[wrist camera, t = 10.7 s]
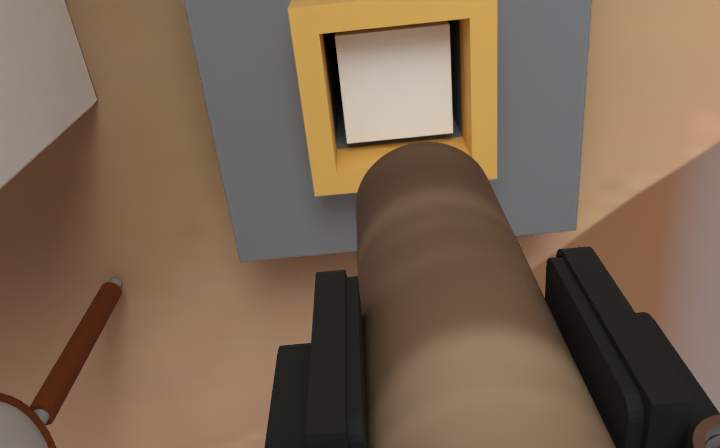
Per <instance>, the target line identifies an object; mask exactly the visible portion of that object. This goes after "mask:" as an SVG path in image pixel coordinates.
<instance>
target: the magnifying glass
mask: <svg viewBox="0 0 720 448" xmlns="http://www.w3.org/2000/svg"><path fill="white" fill-rule="evenodd" d="M121 286H122V283H121V281H120V280H119V279H116V278H112V279H110V281H109V282H106V283H104V284H103V285H102V286H101V288H100V290H99V291H98V293H97V295H96V296H95V298H94V300H93V301H92V303H91V305H90V306H89V308H88V310H87V311H86V313H85V315H84V316H83V318H82V320H81V321H80V323H79V325H78V327H77V328H76V330H75V332H74V333H73V335H72V337H71V338H70V340H69V342H68V343H67V345H66V347H65V348H64V350H63V352H62V353H61V355H60V357H59V358H58V360H57V362H56V363H55V365H54V367H53V369H52V370H51V372H50V374H49V375H48V377H47V379H46V380H45V382H44V384H43V385H42V387H41V389H40V390H39V392H38V394H37V395H36V397H35V399H34V400H33V402H32V404H31V405H30V407H29V406H27V405H26V404H24V403H23V402H22V401H20V400H18V399H16V398H14V397H12V396H9V395H5V394H2V393H0V448H56V446H55V443H54V441H53V439H52V437H51V435H50V433H49V431H48V429H47V428H46V426H45V425H48V424H51V423H52V422H53V421H54V419H55V417H56V415H57V413H58V412H59V410H60V408H61V406H62V404H63V402H64V400H65V399H66V397H67V395H68V393H69V391H70V389H71V387H72V386H73V384H74V382H75V380H76V378H77V376H78V374H79V372H80V371H81V369H82V367H83V365H84V363H85V361H86V359H87V358H88V356H89V354H90V352H91V350H92V348H93V346H94V345H95V343H96V341H97V339H98V337H99V335H100V333H101V331H102V330H103V328H104V326H105V324H106V322H107V320H108V318H109V317H110V315H111V313H112V311H113V309H114V307H115V305H116V303H117V302H118V300H119V298H120V296H121V294H122V290H121Z"/></svg>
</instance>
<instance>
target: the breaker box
mask: <svg viewBox="0 0 720 448" xmlns="http://www.w3.org/2000/svg"><path fill="white" fill-rule="evenodd" d="M591 3H592V0H184V4H185V9H186V13H187V18H188V23H189V27H190V32H191V37H192V41H193V46H194V50H195V55H196V60H197V64H198V69H199V73H200V78H201V83H202V87H203V92H204V97H205V101H206V106H207V110H208V115H209V120H210V124H211V129H212V134H213V138H214V143H215V147H216V152H217V157H218V161H219V166H220V171H221V175H222V180H223V184H224V189H225V194H226V198H227V203H228V208H229V212H230V217H231V221H232V226H233V231H234V235H235V240H236V245H237V249H238V254H239V258H240V262H249V261H259V260H270V259H280V258H291V257H301V256H312V255H322V254H333V253H343V252H354V251H357V231H356V205H355V204H356V196H357V192H358V188H359V186H360V183H361V181H362V179H363V177H364V176H365V174H366V173H367V171H368V170H369V169H370V167H371V166H372V165H373V164H374V163H375V162H376V161H377V160H379V159H380V158H381V157H382V156H384V155H385V154H387V153H389V152H390V151H392V150H394V149H396V148H399V147H401V146H404V145H408V144H411V143H418V142H438V143H443V144H448V145H450V146H453V147H456V148H458V149H460V150H462V151H464V152H465V153H467V154H468V155H470V156H471V157H472V158H473V159H474V160H475V161H476V162H477V163H478V164H479V165H480V167H481V168H482V169H483V171H484V173H485V174H486V176H487V178H488V180H489V182H490V185H491V187H492V189H493V191H494V193H495V195H496V197H497V199H498V201H499V203H500V206H501V208H502V210H503V212H504V214H505V216H506V218H507V220H508V222H509V224H510V227H511V229H512V231H513V233H514V235H515V236H522V235H533V234H544V233H554V232H565V231H575V230H576V226H577V211H578V196H579V181H580V167H581V152H582V137H583V122H584V107H585V92H586V77H587V63H588V48H589V33H590V18H591ZM439 21H448V23H449V24H450V52H451V83H452V115H453V133H449V134H439V135H429V136H419V137H409V138H399V139H389V140H379V141H369V142H359V143H349V144H347V139H346V130H345V121H344V112H343V106H340V107H338V101H337V93H336V84H335V76H334V67H333V59H332V50H331V42H330V33H333V32H343V31H352V30H362V29H372V28H381V27H391V26H400V25H410V24H419V23H429V22H439Z"/></svg>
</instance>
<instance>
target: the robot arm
mask: <svg viewBox="0 0 720 448" xmlns="http://www.w3.org/2000/svg"><path fill="white" fill-rule="evenodd" d="M545 300H546V302H547V304H548V306H549V308H550V310H551V313H552V315H553V317H554V319H555V321H556V323H557V325H558V327H559V329H560V331H561V334H562V336H563V338H564V340H565V342H566V344H567V346H568V348H569V350H570V352H571V355H572V357H573V359H574V361H575V363H576V365H577V367H578V369H579V371H580V373H581V376H582V378H583V380H584V382H585V384H586V386H587V388H588V390H589V392H590V394H591V397H592V399H593V401H594V403H595V405H596V407H597V409H598V411H599V413H600V415H601V418H602V420H603V422H604V424H605V426H606V428H607V430H608V432H609V434H610V436H611V439H612V441H613V443H614V445H615V447H616V448H720V413H719V412H718V410H717V409H716V407H715V406H714V405H713V403H712V402H711V400H710V399H709V397H708V396H707V394H706V393H705V392H704V390H703V389H702V387H701V386H700V384H699V383H698V382H697V380H696V379H695V377H694V376H693V374H692V373H691V372H690V370H689V369H688V367H687V366H686V364H685V363H684V362H683V360H682V359H681V357H680V356H679V354H678V353H677V352H676V350H675V349H674V347H673V346H672V344H671V343H670V342H669V340H668V339H667V337H666V336H665V334H664V333H663V331H662V330H661V329H660V327H659V326H658V324H657V323H656V321H655V320H654V319H653V318H652V317H651V316H650V314H648V313H645V312H642V313H635V312H634V310H633V309H632V307H631V306H630V304H629V303H628V301H627V300H626V298H625V297H624V295H623V294H622V292H621V291H620V289H619V288H618V286H617V285H616V283H615V282H614V280H613V279H612V277H611V276H610V274H609V273H608V271H607V270H606V268H605V267H604V265H603V264H602V262H601V261H600V259H599V258H598V256H597V255H596V253H595V252H594V250H593V249H592V248H591V247H579V248H568V249H559V250H558V252H557V255H556V257H555V258H549V259H548V260H547V266H546V287H545ZM265 448H368V433H367V411H366V388H365V365H364V343H363V320H362V310H361V301H360V293H359V284H358V277H357V276H355V277H347V276H346V271H345V270H337V271H326V272H317V273H316V280H315V295H314V310H313V324H312V339H311V343H306V344H295V345H284V346H280V347H279V349H278V354H277V361H276V368H275V375H274V383H273V390H272V397H271V405H270V412H269V419H268V427H267V434H266V441H265Z"/></svg>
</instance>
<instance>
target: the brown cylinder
mask: <svg viewBox="0 0 720 448" xmlns="http://www.w3.org/2000/svg"><path fill="white" fill-rule="evenodd" d="M355 205H356V231H357V258H358V284H359V293H360V301H361V310H362V320H363V343H364V365H365V388H366V411H367V433H368V448H616V447H615V445H614V443H613V441H612V439H611V436H610V434H609V432H608V430H607V428H606V426H605V424H604V422H603V420H602V418H601V415H600V413H599V411H598V409H597V407H596V405H595V403H594V401H593V399H592V397H591V394H590V392H589V390H588V388H587V386H586V384H585V382H584V380H583V378H582V376H581V373H580V371H579V369H578V367H577V365H576V363H575V361H574V359H573V357H572V355H571V352H570V350H569V348H568V346H567V344H566V342H565V340H564V338H563V336H562V334H561V331H560V329H559V327H558V325H557V323H556V321H555V319H554V317H553V315H552V313H551V310H550V308H549V306H548V304H547V302H546V300H545V298H544V296H543V294H542V292H541V290H540V287H539V285H538V283H537V281H536V279H535V277H534V275H533V273H532V271H531V268H530V266H529V264H528V262H527V260H526V258H525V256H524V254H523V252H522V250H521V247H520V245H519V243H518V241H517V239H516V237H515V235H514V233H513V231H512V229H511V227H510V224H509V222H508V220H507V218H506V216H505V214H504V212H503V210H502V208H501V206H500V203H499V201H498V199H497V197H496V195H495V193H494V191H493V189H492V187H491V185H490V182H489V180H488V178H487V176H486V174H485V173H484V171H483V169H482V168H481V167H480V165H479V164H478V163H477V162H476V161H475V160H474V159H473V158H472V157H471V156H470V155H468V154H467V153H465V152H464V151H462V150H460V149H458V148H456V147H453V146H450V145H448V144H443V143H438V142H418V143H411V144H408V145H404V146H401V147H399V148H396V149H394V150H392V151H390V152H389V153H387V154H385V155H384V156H382V157H381V158H380V159H379V160H377V161H376V162H375V163H374V164H373V165H372V166H371V167H370V169H369V170H368V171H367V173H366V174H365V176H364V177H363V179H362V181H361V183H360V186H359V188H358V192H357V196H356V204H355Z"/></svg>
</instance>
